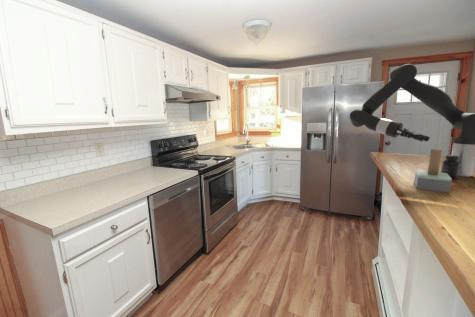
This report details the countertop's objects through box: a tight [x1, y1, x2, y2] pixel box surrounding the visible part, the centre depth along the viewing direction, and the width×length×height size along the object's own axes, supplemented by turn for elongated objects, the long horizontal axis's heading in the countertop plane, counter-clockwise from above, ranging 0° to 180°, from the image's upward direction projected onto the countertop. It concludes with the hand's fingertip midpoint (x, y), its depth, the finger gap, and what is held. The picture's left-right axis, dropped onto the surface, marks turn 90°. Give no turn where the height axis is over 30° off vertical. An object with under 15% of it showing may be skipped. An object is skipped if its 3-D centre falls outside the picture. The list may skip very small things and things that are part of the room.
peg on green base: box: [415, 148, 453, 182], centre depth 101 cm, size 11×11×13 cm
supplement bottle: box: [440, 154, 460, 181], centre depth 119 cm, size 7×7×12 cm
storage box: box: [413, 172, 452, 194], centre depth 103 cm, size 11×11×6 cm
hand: (426, 139), depth 104 cm, fingers open, 8 cm apart
